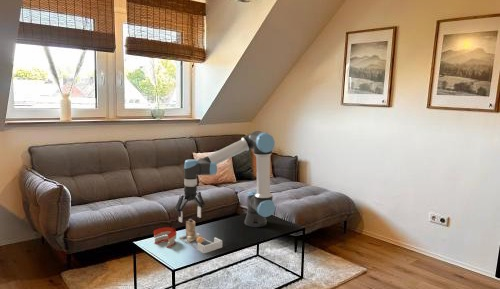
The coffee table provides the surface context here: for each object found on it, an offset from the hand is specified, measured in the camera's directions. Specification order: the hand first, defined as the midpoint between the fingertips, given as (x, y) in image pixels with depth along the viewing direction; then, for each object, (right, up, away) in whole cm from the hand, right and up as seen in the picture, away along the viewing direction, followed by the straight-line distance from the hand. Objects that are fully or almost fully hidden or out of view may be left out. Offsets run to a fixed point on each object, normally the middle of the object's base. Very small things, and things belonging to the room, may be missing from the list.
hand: (190, 219), depth 222 cm
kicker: (0, -12, +2) cm, 12 cm away
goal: (+13, -14, -12) cm, 23 cm away
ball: (+7, -11, -5) cm, 14 cm away
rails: (+5, -13, -3) cm, 14 cm away
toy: (-13, -13, -5) cm, 19 cm away
